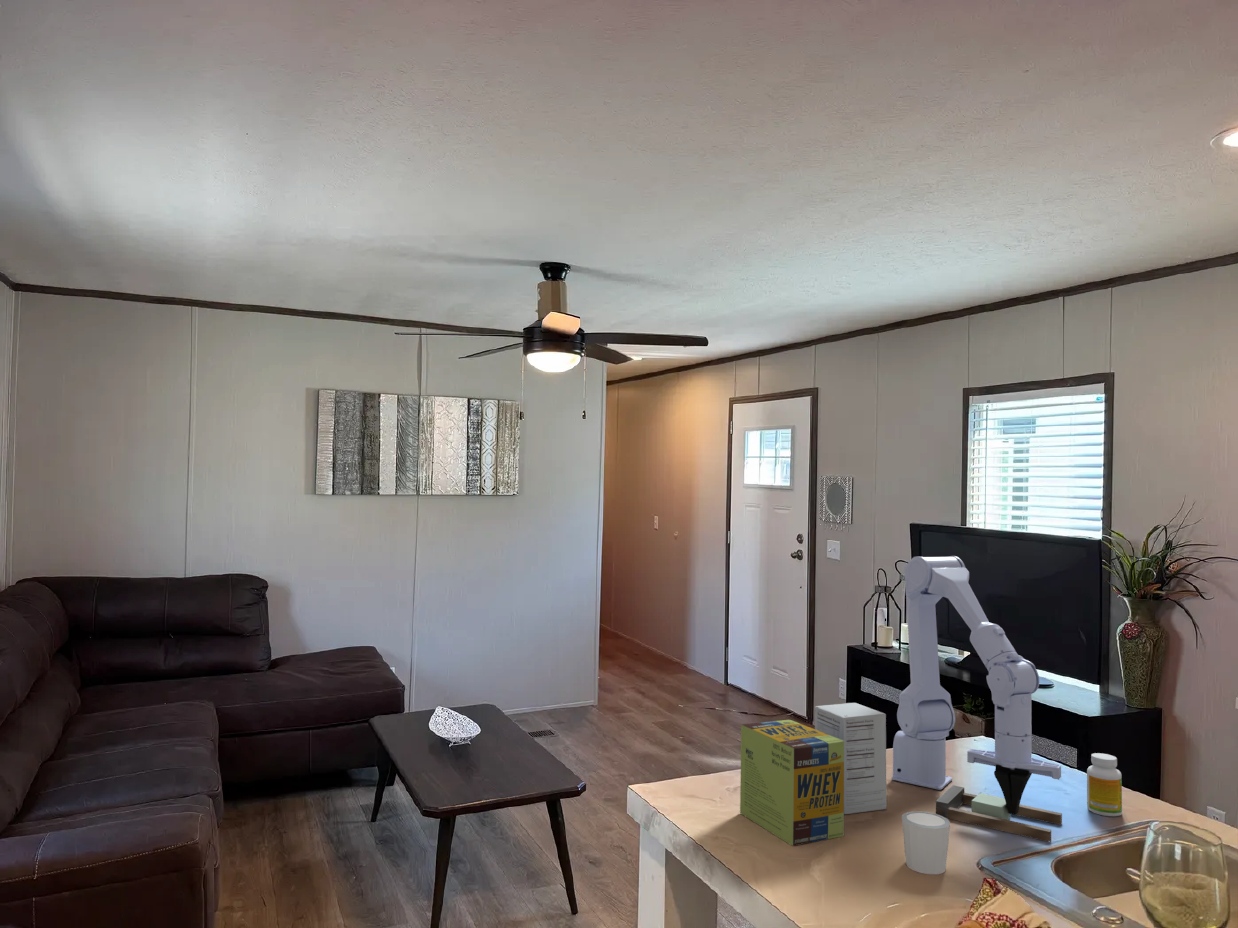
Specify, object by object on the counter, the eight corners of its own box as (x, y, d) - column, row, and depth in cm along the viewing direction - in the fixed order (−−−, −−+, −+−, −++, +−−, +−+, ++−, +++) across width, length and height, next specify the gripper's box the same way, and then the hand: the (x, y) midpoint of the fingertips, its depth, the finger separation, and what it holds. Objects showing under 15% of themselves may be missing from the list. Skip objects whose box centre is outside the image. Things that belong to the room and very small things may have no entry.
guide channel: (935, 815, 148) (935, 800, 148) (953, 798, 156) (953, 785, 156) (1049, 841, 137) (1049, 826, 137) (1061, 822, 145) (1061, 807, 146)
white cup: (894, 856, 131) (894, 810, 131) (937, 855, 131) (937, 809, 132) (913, 876, 124) (913, 828, 124) (958, 875, 124) (958, 827, 125)
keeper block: (971, 817, 147) (971, 800, 147) (980, 809, 151) (980, 792, 151) (1002, 825, 144) (1002, 807, 144) (1010, 816, 148) (1010, 799, 148)
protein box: (793, 847, 134) (793, 747, 134) (738, 813, 148) (739, 723, 148) (845, 836, 138) (846, 740, 139) (788, 805, 152) (788, 717, 153)
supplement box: (888, 809, 150) (888, 713, 151) (844, 815, 147) (844, 717, 148) (855, 791, 159) (855, 701, 160) (813, 797, 156) (813, 704, 157)
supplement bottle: (1127, 818, 148) (1126, 761, 148) (1093, 815, 149) (1092, 759, 149) (1115, 807, 153) (1115, 752, 154) (1082, 804, 154) (1082, 750, 155)
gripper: (962, 729, 147) (962, 809, 147) (1055, 745, 138) (1055, 829, 138) (973, 721, 153) (973, 797, 152) (1063, 735, 144) (1063, 817, 143)
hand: (1013, 812), depth 145 cm, fingers closed
